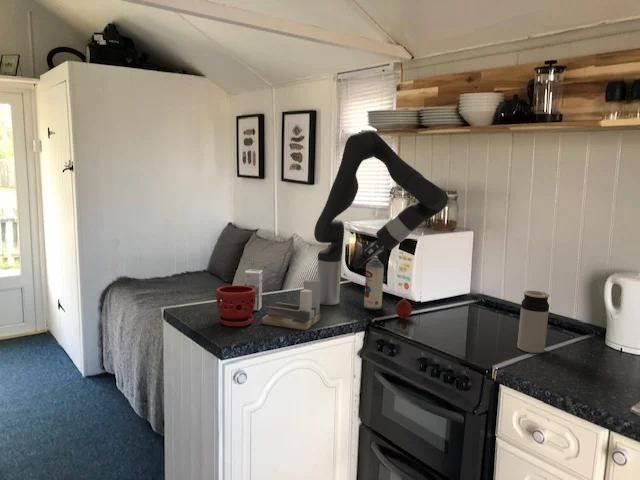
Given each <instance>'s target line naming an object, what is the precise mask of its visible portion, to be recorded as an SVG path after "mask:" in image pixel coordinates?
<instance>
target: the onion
mask: <svg viewBox="0 0 640 480" xmlns="http://www.w3.org/2000/svg"><path fill="white" fill-rule="evenodd" d="M412 308H413V307H412V305H411V303H410V302H409V301H408V300H407V297H403V298H402V299H401V300H399V302H397V303H396V305H395V310H394V311H395V314H396V315H397V316H398V317H399V318H400V319H401V320H405V319H406V318H408V317H409V316H410V315H411V314H412V311H413V309H412Z"/></svg>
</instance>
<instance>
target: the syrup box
mask: <svg viewBox="0 0 640 480" xmlns="http://www.w3.org/2000/svg"><path fill="white" fill-rule="evenodd" d="M243 286H249V287H253V288H255V290H256V298H255V306H254V310H253V312H254V311H255V312H256V311H257V312H259V311H260V310H261V308H262V306H263V304H262V302H263V298H262V296H263V269H246V270H245V272H244V285H243Z"/></svg>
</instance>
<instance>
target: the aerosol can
mask: <svg viewBox="0 0 640 480" xmlns="http://www.w3.org/2000/svg"><path fill="white" fill-rule="evenodd" d="M378 257H379V256H378V255H376V256H375V257H373V258H371V260H369V262H368V263H366V266H365V281H364V282H365V283H364V299H363V300H364V301H363V308H365V309H368V310H380V309H382V305H383V304H382V302H383V288H384V286H383V285H384V270H385V267H384V264H383V263H382V261H380V260H379V258H378Z"/></svg>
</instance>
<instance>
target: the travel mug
mask: <svg viewBox="0 0 640 480" xmlns="http://www.w3.org/2000/svg"><path fill="white" fill-rule="evenodd" d="M523 296H524V297H523V300H521V303H520V304H521V305H520V314H519V325H518V335H517V336H518V337H517V345H516V347H517V349H519V350H521V351H522V352H526V353H530V354H531V353H532V354H541V353H544V352H545V350H546V349H545V347H546V341H547V339H546V338H547V331H548V328H547V327H548V321H549V320H548V319H549V312H550V304H549V301H548V300H549V297H550V294H549V293H547V292H544V291H539V290H524V291H523Z"/></svg>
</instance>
